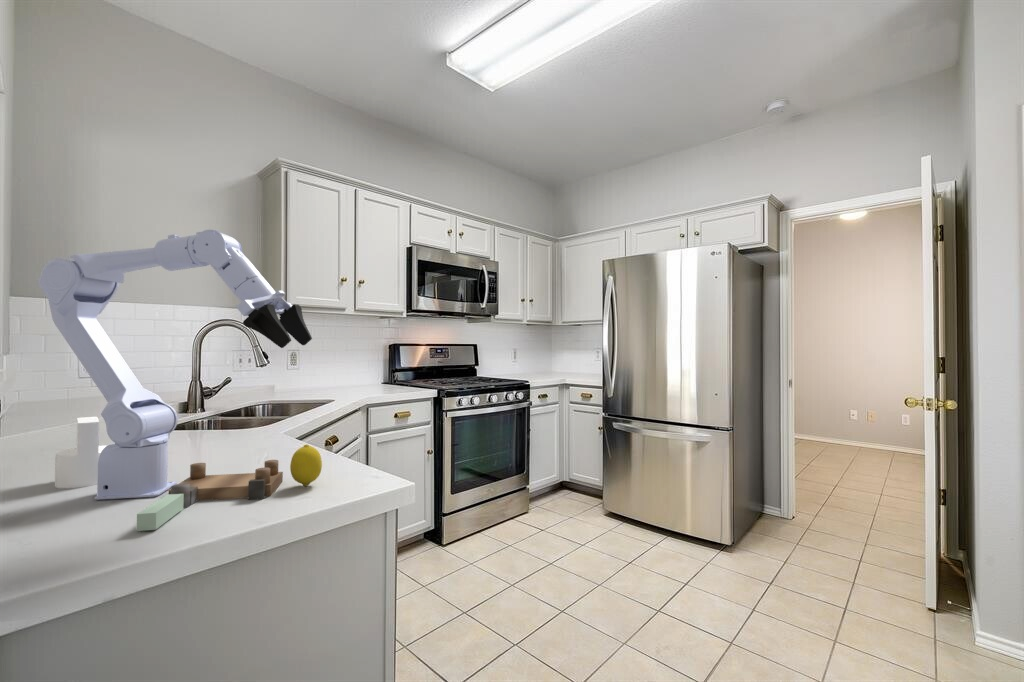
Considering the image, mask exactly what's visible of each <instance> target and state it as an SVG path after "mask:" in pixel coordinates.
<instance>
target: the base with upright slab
mask: <svg viewBox="0 0 1024 682" xmlns="http://www.w3.org/2000/svg"><path fill="white" fill-rule="evenodd" d="M106 446H107V445H100V420H99V417H98V416H85V417H77V418H76V447H75V448H70V449H64V450H60V451H57V452H56V453H55V454H54V461H55V463H54V465H55V466H54V487H55V488H58V487H59V488H58V489H77V488H85V487H92V486H97V484H98V460H99V456H100V454H101V452H102V450H103V449H104V448H105V447H106Z"/></svg>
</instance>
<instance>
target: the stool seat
mask: <svg viewBox="0 0 1024 682" xmlns="http://www.w3.org/2000/svg"><path fill="white" fill-rule="evenodd" d="M189 467H190V468H189V474H190V475H189V477H187V478H186V479H184V480H183V481H181V482H180V483H177V484H176V485H173V486H171V488H169V489H168V494H184V503H183V509H187V508H189V507H190V506H192V505H193V504H195V503H197V501H208V500H209V501H210V500H223V499H225V500H228V499H242V498H243V499H244V498H245V499H246V498H247V500H248V501H253V500H254V501H255V500H264V499H265V497H271V496H272V495H273V494H274V492H276V491H277V490H278V488H279V487H280V485H281V484H282V483H283V482H284V481H283V479H284V478H283V475H284V471H279V460H278V459H268V460H264V467H258V468H256V469H255V472H246V473H230V474H229V473H228V474H227V473H226V474H210V475H208V474H207V475H206V467H207V465H206V462H195V463H191V464H190V466H189Z"/></svg>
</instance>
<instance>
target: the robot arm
mask: <svg viewBox="0 0 1024 682" xmlns="http://www.w3.org/2000/svg"><path fill="white" fill-rule="evenodd" d="M241 245H242V244H241V243H240V242H239V241H238V240H237V238H234V237H232V236H230V235H228V234H225V233H223V232H219V231H218V230H214V229H206V230H203V231H197V232H196V233H195V234H193V235H185V236H180V235H177V234H168V235H167V238H165V239H160V240H158V241H157V242H156V244H155V245H154V247H146V248H137V249H135V248H134V249H125V250H116V251H115V250H114V251H106V252H105V251H104V252H94V253H93V252H92V253H80V254H79V253H77V254H72V255H69V256H68V258H69V259H68V258H64V257H59V258H54V259H53V258H52V259H51V260H49V261H47V262H46V264H45V265H44V266H43V268H42V270H41V273H40V276H39V279H38V282H37V285H38V286H39V289H41V291H42V292H43V294H44V296H45V297H46V299H48V305H49V309H50V313H51V319H52V322H53V323H54V325H55V327H56V328H57V329H58V332H59V333H60V334H61V336H62V337H63V338H64V340H65V341H66V343H67V344H68V346H69V347H70V348H71V350H72V352H73V354H74V355H75V356H76V358H77V359H78V360H79V362H80V364H81V365H82V367H83V368H84V369H85V371H86V372H87V374H88V375H89V377H90V378H91V380H92V382H93V383H94V384H95V386H96V387H97V389H98V390H99V392H100V393H101V394H102V396H103V397H104V399H105V400H106V402H107V403H106V405H105V407H104V408H103V409H102V411H101V413H100V415H101V418H102V419H103V421H104V423H105V427H106V433H107V435H108V437H109V439H110V440H111V441H112V442H113V443H114V444H108V445H105V446H106V447H105V448H104V449H103V450H102V452H101V454H100V456H99V460H98V484H97V485H96V487H97V489H96V490H97V493H96V495H95V496H94V500H96V501H97V500H99V501H101V500H118V499H132V498H133V499H134V498H135V499H136V498H151V497H153V498H154V497H158V496H159V495H161V494H163V493H165V492H166V491H169V490H170V489H171V486H173V485H176V484H178V482H177V481H168V464H169V462H168V461H169V460H168V459H169V457H168V454H169V441H168V440H170V438H171V433H172V432H173V431H175V429H176V428H177V425H178V421H179V418H178V414H177V411H176V409H175V408H174V407H173V406H171V405H170V404H168V403H166V402H165V401H164V400H163V399H162V398H161V396H160V395H159V394H157V393H155V392H153V391H150V390H149V389H146V388H145V387H143V386H142V384H141V383H140V381H139V379H138V378H137V377H136V375H135V374H134V372H133V371H132V369H131V368H130V366H129V365H128V363H127V362H126V361H125V359H124V357H123V356H122V354H121V353H120V352H119V350H118V349H117V346H116V345H115V344H114V343H113V341H112V340H111V338H110V337H109V335H108V334H107V333H106V331H105V329H104V328H103V326H102V324H100V322H99V321H98V315H100V314H102V313H103V311H104V310H105V308H106V307H107V305H108V304H109V303H110V301H111V300H112V299H113V297H114V296H115V295H116V293H117V291H118V289H119V285H120V284H123V283H125V273H130V272H131V273H132V272H135V271H142V270H146V269H151V268H156V267H161V268H163V269H164V270H166V271H168V272H169V271H170V272H173V271H180V270H182V271H183V270H188V269H194V268H195V269H196V268H203V267H207V266H209V265H210V267H212V269H213V270H214V271H215V273H217V275H218V276H219V278H221V280H222V281H223V283H224V284H225V285H226V286H227V287H228V288H229V289H230V291H231V292H232V293H233V294H234V295H235V296H236V298H237V299H238V300H239V301H240V303H239V304H238V305H237V306H236V309H237V310H238V311H239V313H240V314H241V315H242V316H243V317H246V318H245V319H244V320H243V322H242V324H243V325H244V326H245V327H246V328H248V329H251V330H254V331H256V332H257V333H260V334H261V335H263V336H264V337H265V338H266V339H268V340H269V341H271V342H272V343H273V344H274V345H276V346H278V347H279V348H280V349H284V347H286V346H287V345H289V343H291V342H292V339H291V337H292V338H293V339H294V340H295V341H296V342H297V343H299V344H300V345H301V346H306V345H307V344H308V343H309V342H310V341H312V340H313V338H312V335H311V333H310V331H309V329H308V327H307V325H306V322H305V319H304V316H303V309H302V307H301V306H300V305H299V304H295V303H294V304H291V302H288V301H287V300H285V299H284V296H285V295H286V292H284V290H277V291H276V290H275V289H274V288H273V287H272V285H270V284H269V282H268V281H267V280H266V278H265V277H264V276H263V275H262V273H261V272H260V271H259V270H258V269H257V268H256V267H255V265H254V264H253V263H252V262H251V261H250V259H249V258H248V257H246V255H245V254H244V252H243V248H242V246H241ZM70 259H72V260H70ZM278 315H279V317H278ZM290 336H291V337H290Z"/></svg>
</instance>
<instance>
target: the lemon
mask: <svg viewBox="0 0 1024 682" xmlns="http://www.w3.org/2000/svg"><path fill="white" fill-rule="evenodd" d="M322 462H323V461H322V456H321V453H320V451H319V450H318V449H317V448H315V447H313V446H310V445H309V444H304V445H303V446H302V447H300V448H298V449H297V450H295V452H294V453H293V454H292V457H291V460H290V467H289V470H290V474H291V476H292V479H293V480H294V481H295V482H297V483H298V484H301V485H302V486H303V487H308V486H309V485H310V484H311V483H313V482H315V481H316V480H317V479H318V478H319V476H320V475H321V472H322V467H323V466H322V465H323V463H322Z"/></svg>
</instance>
